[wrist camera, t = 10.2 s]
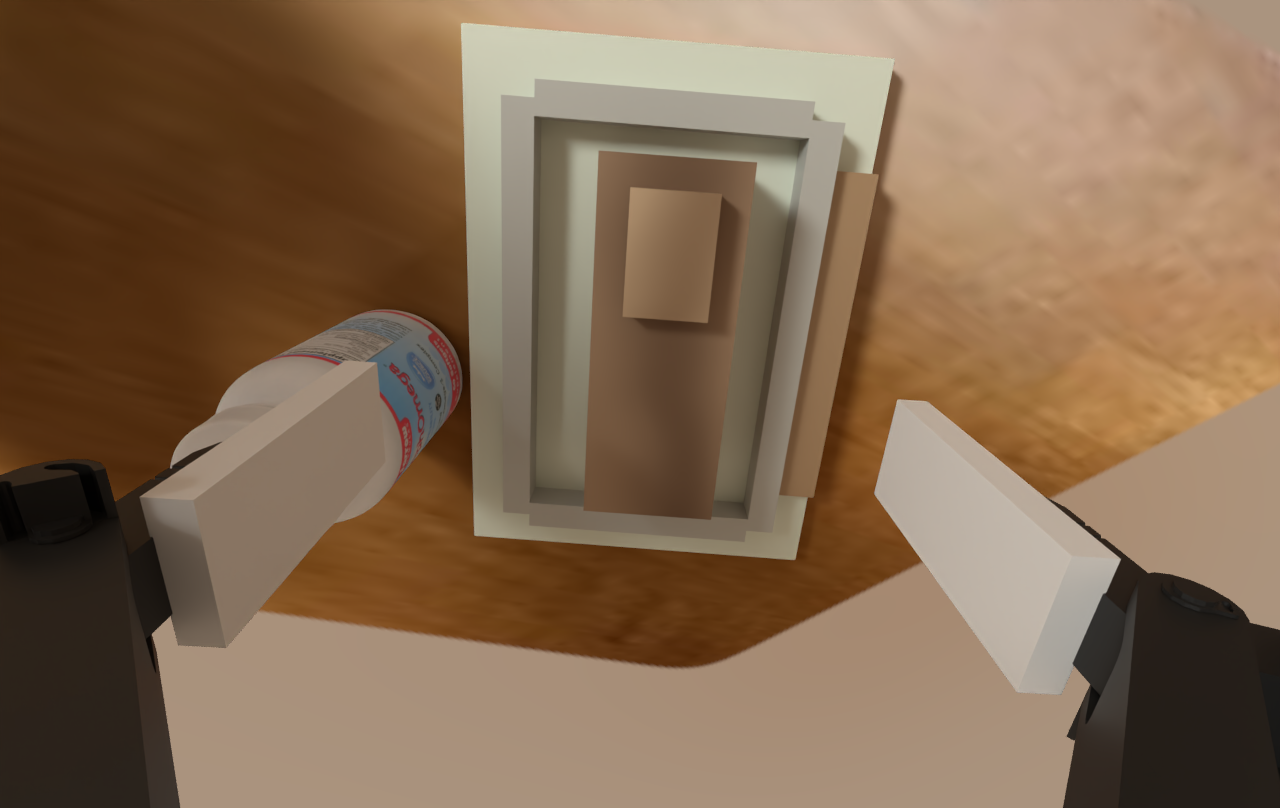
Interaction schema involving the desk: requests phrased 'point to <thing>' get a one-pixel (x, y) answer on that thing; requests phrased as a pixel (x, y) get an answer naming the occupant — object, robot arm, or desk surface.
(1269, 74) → the desk surface
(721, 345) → the brown block
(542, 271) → the tray
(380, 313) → the pill bottle
